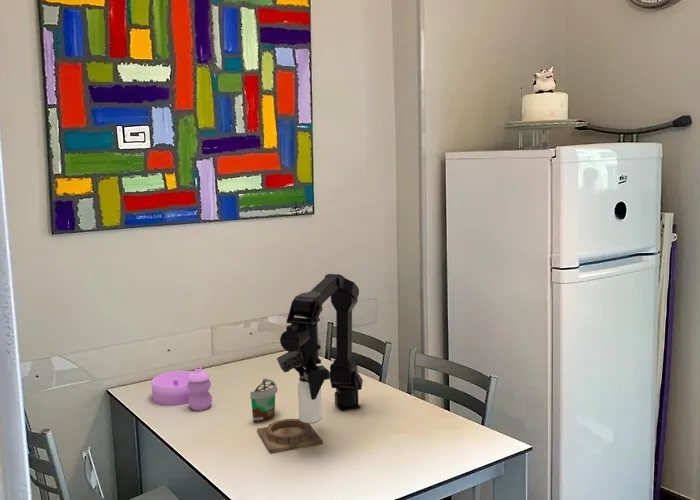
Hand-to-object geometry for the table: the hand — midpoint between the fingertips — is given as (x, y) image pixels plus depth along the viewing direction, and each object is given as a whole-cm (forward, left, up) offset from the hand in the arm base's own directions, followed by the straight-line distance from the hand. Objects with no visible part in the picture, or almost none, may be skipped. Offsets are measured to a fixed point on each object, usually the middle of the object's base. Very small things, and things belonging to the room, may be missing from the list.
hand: (309, 395), depth 196 cm
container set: (+29, -44, -13) cm, 55 cm away
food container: (+8, -20, -13) cm, 25 cm away
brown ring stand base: (+6, -3, -13) cm, 14 cm away
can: (0, 0, -7) cm, 7 cm away
